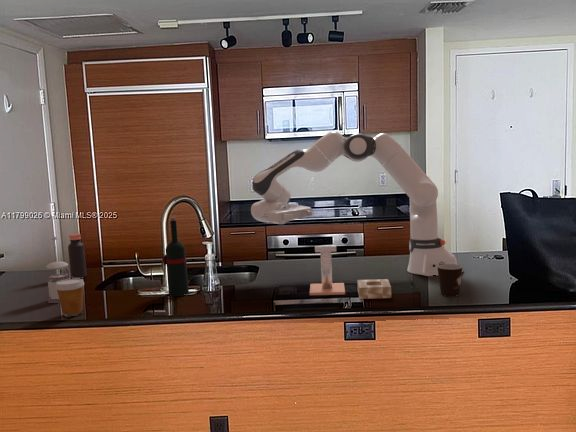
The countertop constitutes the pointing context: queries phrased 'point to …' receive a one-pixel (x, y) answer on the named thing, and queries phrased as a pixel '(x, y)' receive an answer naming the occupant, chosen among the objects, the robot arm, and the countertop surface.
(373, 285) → the socket block
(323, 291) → the tile
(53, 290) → the french press
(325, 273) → the t key
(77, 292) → the glass of amber beer
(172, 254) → the wine bottle
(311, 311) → the countertop surface
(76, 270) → the vinegar
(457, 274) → the coffee mug
